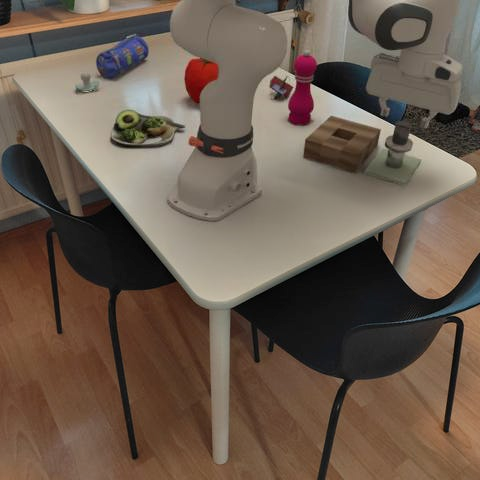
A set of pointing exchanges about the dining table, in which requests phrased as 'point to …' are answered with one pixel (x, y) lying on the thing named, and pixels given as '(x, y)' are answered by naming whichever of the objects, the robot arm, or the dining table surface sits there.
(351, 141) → the block
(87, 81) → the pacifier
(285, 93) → the geometric puzzle
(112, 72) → the pencil case
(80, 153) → the dining table surface
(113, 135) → the salad plate
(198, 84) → the tomato
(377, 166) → the mat
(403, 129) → the flanged metal shaft
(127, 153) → the dining table surface
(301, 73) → the pepper mill
